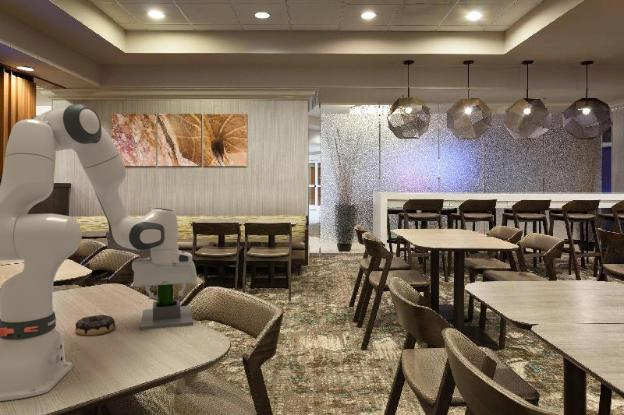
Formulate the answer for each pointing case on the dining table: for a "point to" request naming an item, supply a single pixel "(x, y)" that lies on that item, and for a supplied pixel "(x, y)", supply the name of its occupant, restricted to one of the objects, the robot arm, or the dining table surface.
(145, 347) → the dining table surface
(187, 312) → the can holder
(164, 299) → the beer can
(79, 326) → the donut
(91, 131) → the robot arm
